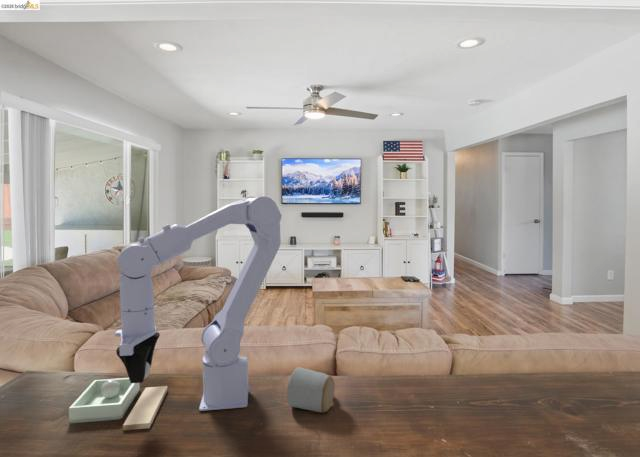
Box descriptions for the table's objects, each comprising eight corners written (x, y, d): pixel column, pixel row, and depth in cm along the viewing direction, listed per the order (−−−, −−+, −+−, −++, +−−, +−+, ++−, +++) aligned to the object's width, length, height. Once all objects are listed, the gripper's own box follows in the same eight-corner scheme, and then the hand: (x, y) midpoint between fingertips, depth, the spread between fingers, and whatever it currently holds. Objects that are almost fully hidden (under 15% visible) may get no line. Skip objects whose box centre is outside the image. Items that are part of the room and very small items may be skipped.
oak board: (167, 390, 84) (167, 385, 84) (149, 428, 70) (149, 423, 70) (145, 391, 83) (145, 387, 83) (123, 430, 69) (122, 425, 69)
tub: (139, 389, 84) (139, 376, 84) (121, 419, 73) (120, 404, 73) (95, 393, 83) (94, 380, 82) (69, 423, 72) (68, 408, 71)
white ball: (123, 392, 82) (122, 376, 82) (116, 400, 78) (115, 382, 78) (105, 394, 81) (104, 378, 81) (98, 402, 78) (97, 384, 78)
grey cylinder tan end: (325, 421, 72) (325, 382, 72) (285, 413, 75) (285, 375, 74) (340, 395, 82) (340, 360, 82) (305, 388, 85) (305, 355, 84)
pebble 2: (153, 374, 75) (152, 356, 74) (147, 382, 71) (147, 364, 71) (133, 375, 74) (132, 357, 74) (127, 384, 70) (126, 365, 70)
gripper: (128, 298, 78) (131, 362, 79) (98, 321, 64) (102, 398, 65) (164, 296, 79) (166, 359, 80) (143, 318, 65) (146, 394, 66)
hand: (140, 376), depth 73 cm, fingers closed on pebble 2, 3 cm apart
